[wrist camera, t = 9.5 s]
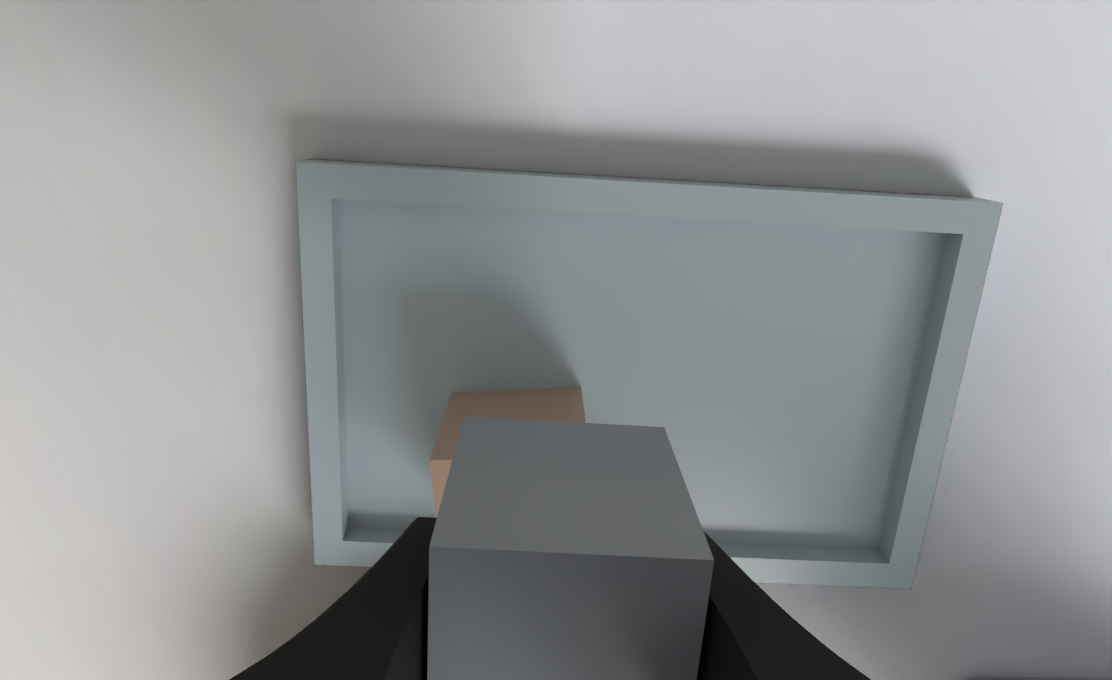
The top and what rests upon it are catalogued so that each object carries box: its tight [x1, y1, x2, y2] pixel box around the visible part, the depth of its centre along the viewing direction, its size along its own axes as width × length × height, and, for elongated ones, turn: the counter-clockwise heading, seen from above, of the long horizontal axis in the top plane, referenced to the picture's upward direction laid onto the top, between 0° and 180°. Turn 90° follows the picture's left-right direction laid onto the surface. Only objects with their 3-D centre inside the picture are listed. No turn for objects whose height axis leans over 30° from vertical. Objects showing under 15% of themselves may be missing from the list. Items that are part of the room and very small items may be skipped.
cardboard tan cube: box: [430, 387, 586, 518], centre depth 18 cm, size 4×4×4 cm
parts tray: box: [296, 159, 1003, 589], centre depth 20 cm, size 17×11×1 cm, turn 87°
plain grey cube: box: [427, 416, 714, 680], centre depth 11 cm, size 4×4×4 cm
